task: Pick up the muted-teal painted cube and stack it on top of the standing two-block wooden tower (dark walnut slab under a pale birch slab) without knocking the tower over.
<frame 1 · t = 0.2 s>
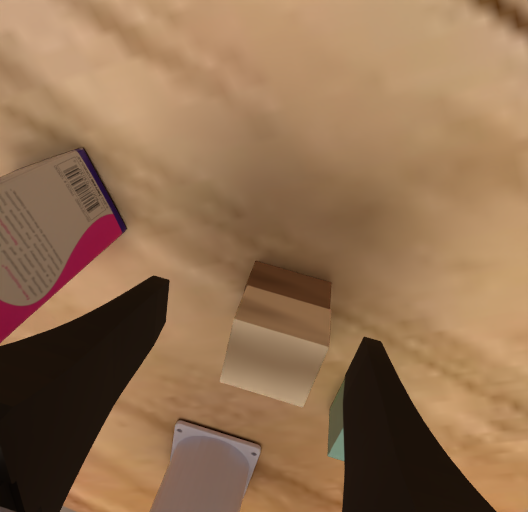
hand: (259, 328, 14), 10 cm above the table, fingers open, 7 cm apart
tower top block: (279, 328, 23), point 3 cm above the table, touching tower base block
teal cube: (363, 399, 29), on the table
supplement box: (73, 200, 25), on the table
tower base block: (284, 299, 25), on the table, touching tower top block
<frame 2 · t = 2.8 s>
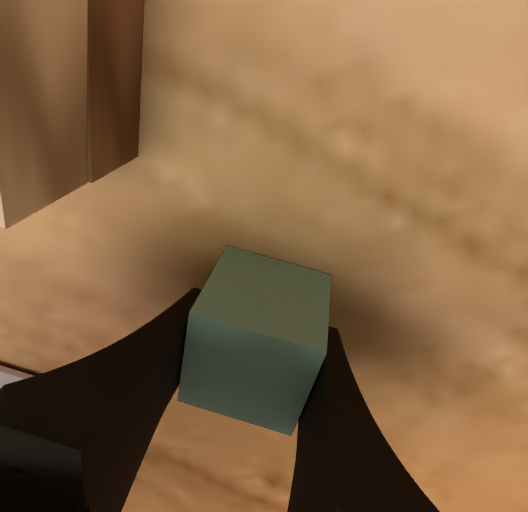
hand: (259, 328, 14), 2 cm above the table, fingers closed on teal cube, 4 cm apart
teal cube: (267, 301, 15), on the table, touching gripper
tower base block: (70, 57, 12), on the table
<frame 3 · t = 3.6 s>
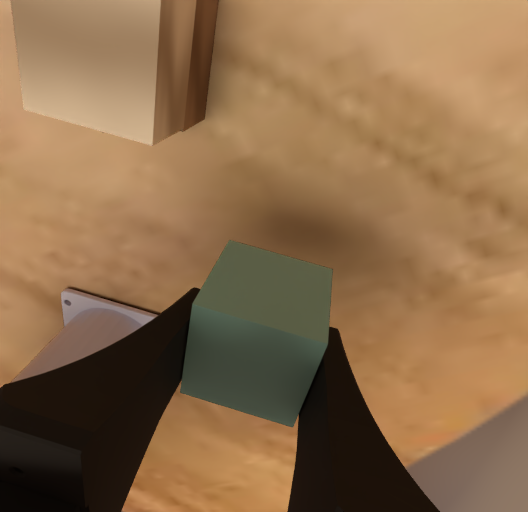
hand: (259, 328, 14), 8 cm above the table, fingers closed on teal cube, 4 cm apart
tower top block: (130, 48, 15), point 3 cm above the table, touching tower base block
teal cube: (269, 295, 15), point 6 cm above the table, touching gripper
tower base block: (160, 50, 18), on the table, touching tower top block
when the fingers open (8 cm above the table, at t = 5.6 s): teal cube stays where it is, resting on tower top block.
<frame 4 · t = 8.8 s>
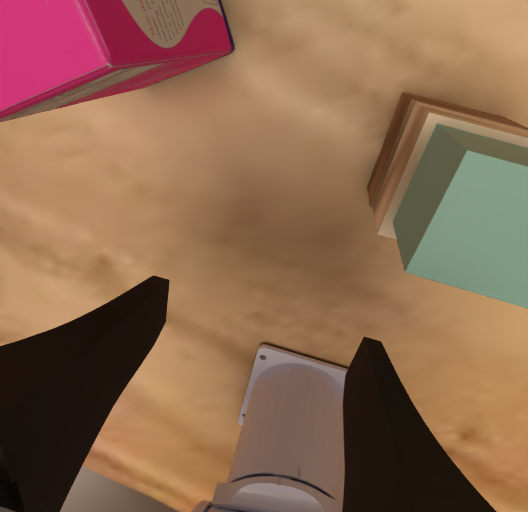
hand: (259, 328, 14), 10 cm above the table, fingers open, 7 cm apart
tower top block: (447, 173, 17), point 3 cm above the table, touching teal cube, tower base block
teal cube: (464, 190, 14), point 6 cm above the table, touching tower top block
supplement box: (165, 11, 19), on the table
tower base block: (430, 154, 20), on the table, touching tower top block
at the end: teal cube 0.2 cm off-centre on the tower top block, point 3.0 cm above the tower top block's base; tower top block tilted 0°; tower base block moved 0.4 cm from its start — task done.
